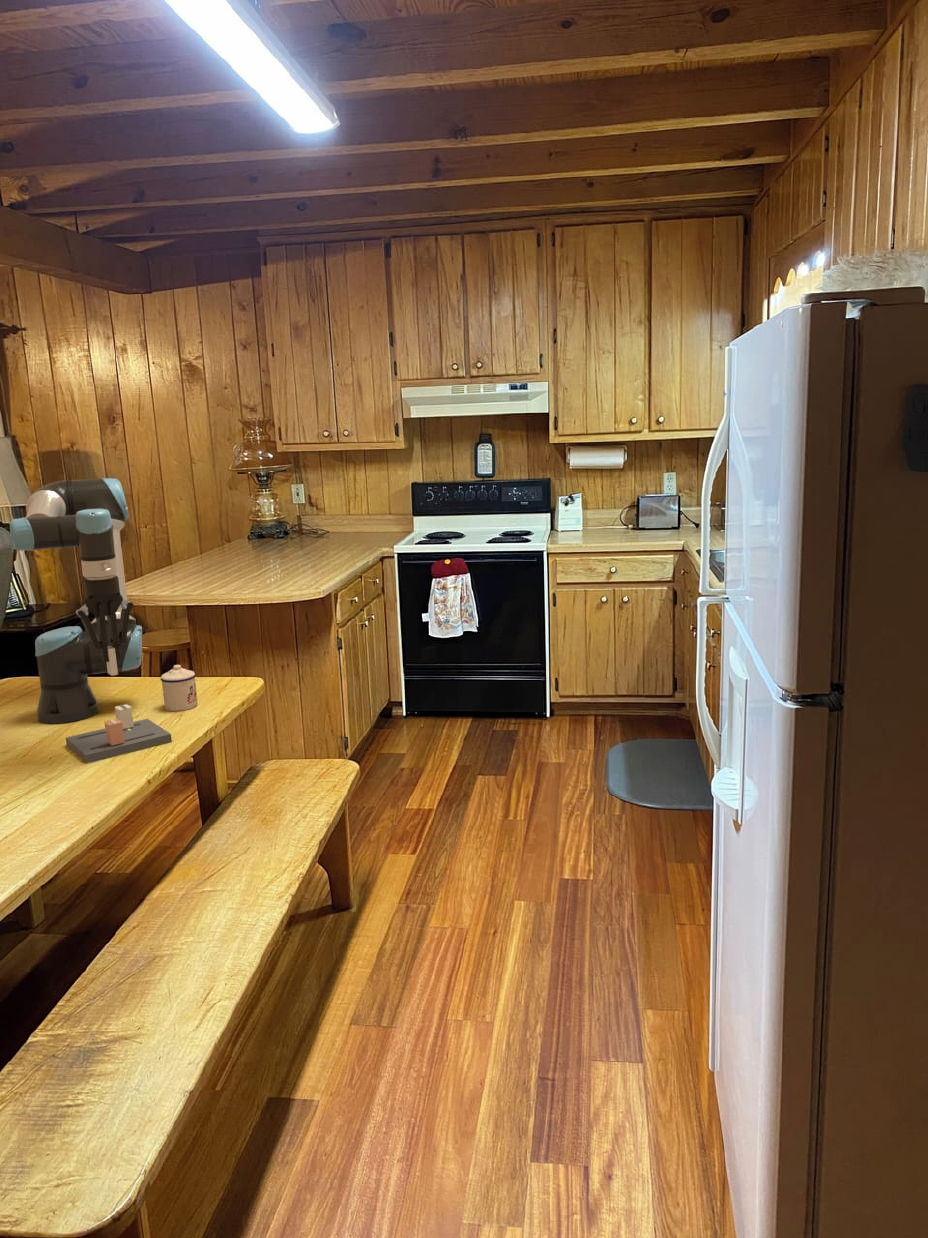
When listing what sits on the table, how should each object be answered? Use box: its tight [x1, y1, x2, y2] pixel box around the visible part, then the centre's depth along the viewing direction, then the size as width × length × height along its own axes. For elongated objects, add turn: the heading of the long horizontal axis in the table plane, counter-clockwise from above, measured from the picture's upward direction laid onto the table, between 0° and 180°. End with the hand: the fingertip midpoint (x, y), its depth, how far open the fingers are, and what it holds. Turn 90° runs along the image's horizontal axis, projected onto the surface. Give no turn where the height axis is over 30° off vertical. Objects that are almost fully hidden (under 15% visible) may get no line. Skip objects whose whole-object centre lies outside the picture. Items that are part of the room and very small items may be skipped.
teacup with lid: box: [160, 664, 198, 712], centre depth 246 cm, size 12×9×12 cm
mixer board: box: [65, 718, 173, 764], centre depth 218 cm, size 16×20×2 cm
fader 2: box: [114, 703, 134, 729], centre depth 223 cm, size 4×3×5 cm
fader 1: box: [104, 718, 125, 745], centre depth 212 cm, size 4×3×5 cm
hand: (112, 673), depth 213 cm, fingers closed
